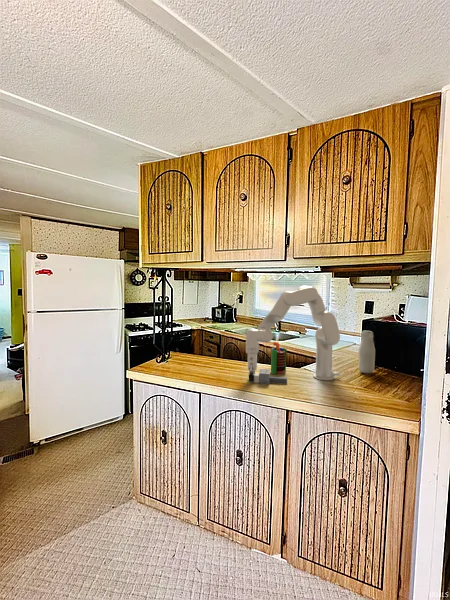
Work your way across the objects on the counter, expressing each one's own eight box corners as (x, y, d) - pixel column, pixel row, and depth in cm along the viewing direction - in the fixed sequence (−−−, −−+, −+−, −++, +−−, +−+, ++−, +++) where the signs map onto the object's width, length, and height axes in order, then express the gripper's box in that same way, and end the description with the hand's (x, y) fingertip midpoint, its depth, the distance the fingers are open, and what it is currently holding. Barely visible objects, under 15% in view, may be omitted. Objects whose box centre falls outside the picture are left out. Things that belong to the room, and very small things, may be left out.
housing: (269, 379, 201) (269, 369, 201) (269, 384, 191) (269, 374, 191) (259, 378, 202) (259, 368, 202) (258, 384, 192) (259, 373, 192)
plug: (286, 381, 197) (286, 375, 196) (286, 384, 193) (287, 377, 193) (249, 379, 200) (249, 373, 200) (249, 382, 196) (249, 375, 196)
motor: (280, 375, 209) (280, 344, 207) (267, 373, 214) (268, 342, 213) (287, 372, 217) (288, 342, 215) (275, 370, 222) (276, 340, 221)
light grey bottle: (373, 371, 220) (374, 329, 218) (375, 375, 210) (377, 332, 209) (357, 370, 223) (358, 328, 221) (358, 374, 213) (360, 331, 211)
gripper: (257, 353, 187) (257, 384, 189) (259, 347, 205) (258, 375, 206) (244, 353, 189) (244, 384, 190) (247, 346, 206) (246, 375, 207)
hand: (251, 379), depth 198 cm, fingers open, 6 cm apart
